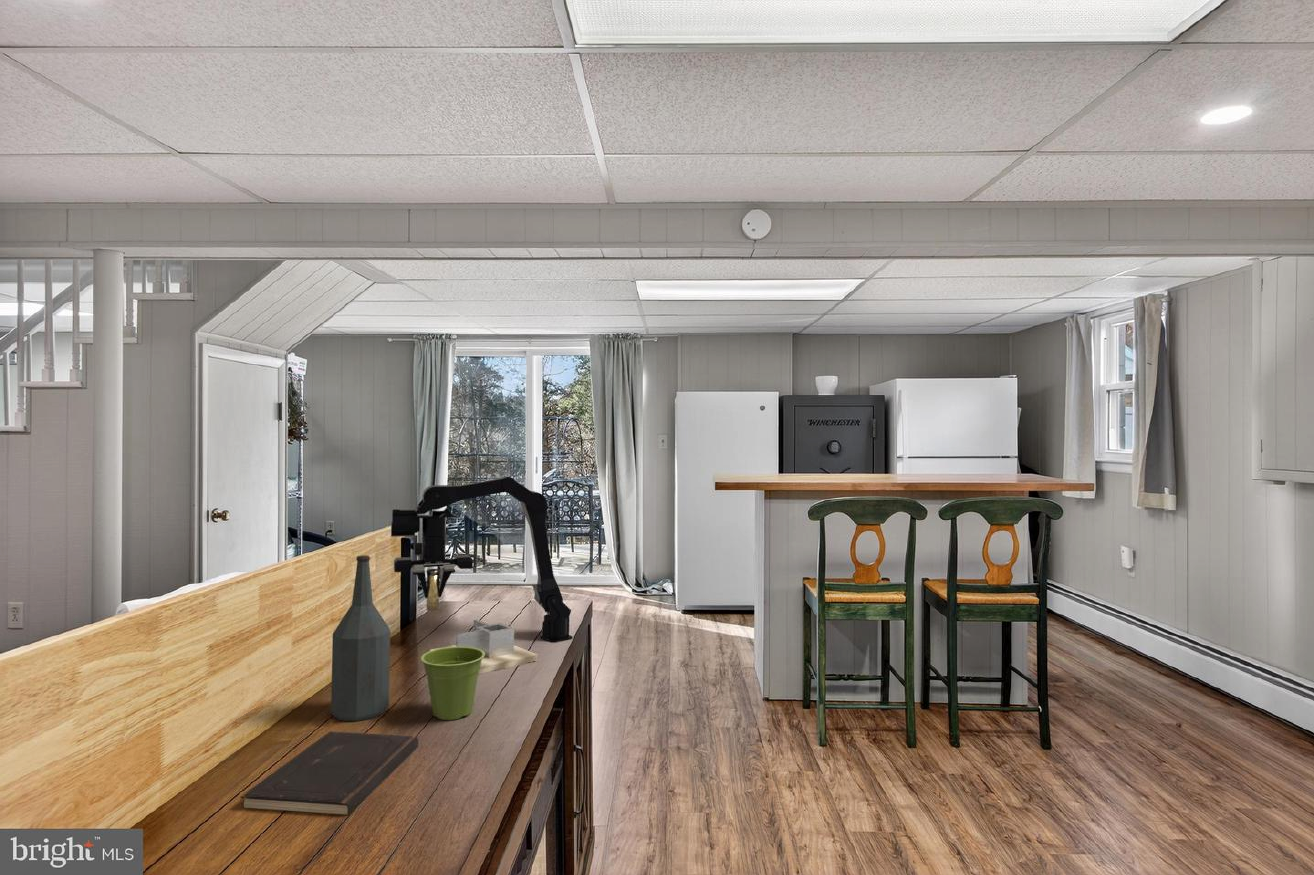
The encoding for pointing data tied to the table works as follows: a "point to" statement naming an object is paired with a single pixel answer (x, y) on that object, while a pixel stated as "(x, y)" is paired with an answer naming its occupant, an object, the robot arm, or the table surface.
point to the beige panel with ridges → (494, 646)
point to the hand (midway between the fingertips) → (432, 597)
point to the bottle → (360, 655)
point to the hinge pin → (432, 589)
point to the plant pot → (452, 680)
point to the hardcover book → (332, 773)
